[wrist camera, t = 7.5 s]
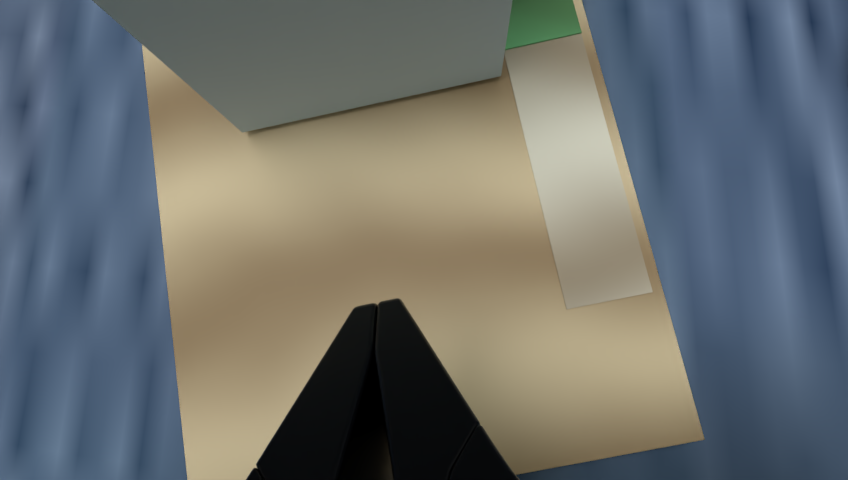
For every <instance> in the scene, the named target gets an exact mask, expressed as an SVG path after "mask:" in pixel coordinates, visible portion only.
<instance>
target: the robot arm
mask: <svg viewBox="0 0 848 480" xmlns="http://www.w3.org/2000/svg"><path fill="white" fill-rule="evenodd" d="M256 466H257V468H258V469H257V468H253V469H252V471H251V472H250V474H249V476H248V477H247V479H246V480H520V479H519V478H518V477H517V476H516V474H515V473H514V472H513V471H512V469H511V468H510V466H509V465H508V464H507V462H506V461H505V459H504V458H503V456H502V455H501V453H500V452H499V451H498V449H497V448H496V446H495V445H494V443H493V442H492V440H491V439H490V437H489V436H488V434H487V433H486V431H485V429H484V428H483V426H481V425H480V422H479V420H478V419H477V417H476V416H475V414H474V413H473V411H472V410H471V408H470V406H469V405H468V403H467V402H466V400H465V399H464V397H463V395H462V394H461V392H460V391H459V389H458V388H457V386H456V384H455V383H454V381H453V380H452V378H451V377H450V375H449V374H448V372H447V370H446V369H445V367H444V366H443V364H442V363H441V361H440V359H439V358H438V356H437V355H436V353H435V352H434V350H433V348H432V347H431V345H430V344H429V342H428V341H427V339H426V338H425V336H424V334H423V333H422V331H421V330H420V328H419V327H418V325H417V323H416V322H415V320H414V319H413V317H412V316H411V314H410V312H409V311H408V309H407V308H406V306H405V305H404V303H403V302H402V300H401V299H399V298H395V299H390V300H385V301H381V302H379V303H378V305H377V304H376V303H370V304H365V305H360V306H356V307H355V308H353V310H352V311H351V313H350V314H349V316H348V318H347V319H346V321H345V322H344V324H343V326H342V327H341V329H340V330H339V332H338V334H337V335H336V337H335V338H334V340H333V342H332V343H331V345H330V346H329V348H328V350H327V351H326V353H325V354H324V356H323V358H322V359H321V361H320V362H319V364H318V366H317V367H316V369H315V370H314V372H313V374H312V375H311V377H310V378H309V380H308V382H307V383H306V385H305V386H304V388H303V390H302V391H301V393H300V394H299V396H298V398H297V399H296V401H295V402H294V404H293V406H292V407H291V409H290V410H289V412H288V414H287V415H286V417H285V418H284V420H283V422H282V423H281V425H280V426H279V428H278V430H277V431H276V433H275V434H274V436H273V438H272V439H271V441H270V442H269V444H268V446H267V447H266V449H265V450H264V452H263V454H262V455H261V457H260V458H259V460H258V462H257V463H256Z"/></svg>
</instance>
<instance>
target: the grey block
mask: <svg viewBox="0 0 848 480" xmlns="http://www.w3.org/2000/svg"><path fill="white" fill-rule="evenodd" d="M93 1H94V2H95V3H96V4H97V5H98V6H99V7H101V8H102V9H103V10H104V11H105V12H106V13H107V14H108V15H110V16H111V17H112V18H113V19H114V20H115V21H116V22H118V23H119V24H120V25H121V26H122V27H123V28H124V29H125V30H127V31H128V32H129V33H130V34H131V35H132V36H133V37H135V38H136V39H137V40H138V41H139V42H140V43H141V44H142V45H144V46H145V47H146V48H147V49H148V50H149V51H150V52H152V53H153V54H154V55H155V56H156V57H157V58H158V59H159V60H161V61H162V62H163V63H164V64H165V65H166V66H167V67H169V68H170V69H171V70H172V71H173V72H174V73H175V74H176V75H178V76H179V77H180V78H181V79H182V80H183V81H184V82H186V83H187V84H188V85H189V86H190V87H191V88H192V89H193V90H195V91H196V92H197V93H198V94H199V95H200V96H201V97H203V98H204V99H205V100H206V101H207V102H208V103H209V104H210V105H212V106H213V107H214V108H215V109H216V110H217V111H218V112H220V113H221V114H222V115H223V116H224V117H225V118H226V119H227V120H229V121H230V122H231V123H232V124H233V125H234V126H235V127H237V128H238V129H239V130H240V131H241V132H242V133H243V132H247V131H252V130H256V129H261V128H266V127H270V126H275V125H279V124H284V123H289V122H293V121H298V120H302V119H307V118H311V117H316V116H321V115H325V114H330V113H334V112H339V111H344V110H348V109H353V108H357V107H362V106H367V105H371V104H376V103H380V102H385V101H389V100H394V99H399V98H403V97H408V96H412V95H417V94H422V93H426V92H431V91H435V90H440V89H444V88H449V87H454V86H458V85H463V84H467V83H472V82H477V81H481V80H486V79H490V78H495V77H499V76H501V73H502V67H503V60H504V53H505V47H506V40H507V34H508V27H509V21H510V14H511V7H512V1H513V0H93Z"/></svg>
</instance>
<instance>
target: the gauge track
mask: <svg viewBox="0 0 848 480" xmlns="http://www.w3.org/2000/svg"><path fill="white" fill-rule="evenodd" d="M142 48H143V58H144V67H145V77H146V86H147V96H148V106H149V115H150V125H151V134H152V144H153V153H154V163H155V173H156V182H157V192H158V201H159V211H160V220H161V230H162V240H163V249H164V259H165V268H166V278H167V288H168V297H169V307H170V316H171V326H172V335H173V345H174V355H175V364H176V374H177V383H178V393H179V402H180V412H181V422H182V431H183V441H184V450H185V460H186V469H187V479H188V480H246V479H247V477H248V476H249V474H250V472H251V471H252V469H253V468H257V466H256V463H257V462H258V460H259V458H260V457H261V455H262V454H263V452H264V450H265V449H266V447H267V446H268V444H269V442H270V441H271V439H272V438H273V436H274V434H275V433H276V431H277V430H278V428H279V426H280V425H281V423H282V422H283V420H284V418H285V417H286V415H287V414H288V412H289V410H290V409H291V407H292V406H293V404H294V402H295V401H296V399H297V398H298V396H299V394H300V393H301V391H302V390H303V388H304V386H305V385H306V383H307V382H308V380H309V378H310V377H311V375H312V374H313V372H314V370H315V369H316V367H317V366H318V364H319V362H320V361H321V359H322V358H323V356H324V354H325V353H326V351H327V350H328V348H329V346H330V345H331V343H332V342H333V340H334V338H335V337H336V335H337V334H338V332H339V330H340V329H341V327H342V326H343V324H344V322H345V321H346V319H347V318H348V316H349V314H350V313H351V311H352V310H353V308H355V307H356V306H360V305H365V304H370V303H376V304H377V305H378V303H379V302H381V301H385V300H390V299H395V298H399V299H401V300H402V302H403V303H404V305H405V306H406V308H407V309H408V311H409V312H410V314H411V316H412V317H413V319H414V320H415V322H416V323H417V325H418V327H419V328H420V330H421V331H422V333H423V334H424V336H425V338H426V339H427V341H428V342H429V344H430V345H431V347H432V348H433V350H434V352H435V353H436V355H437V356H438V358H439V359H440V361H441V363H442V364H443V366H444V367H445V369H446V370H447V372H448V374H449V375H450V377H451V378H452V380H453V381H454V383H455V384H456V386H457V388H458V389H459V391H460V392H461V394H462V395H463V397H464V399H465V400H466V402H467V403H468V405H469V406H470V408H471V410H472V411H473V413H474V414H475V416H476V417H477V419H478V420H479V422H480V425H481V426H483V428H484V429H485V431H486V433H487V434H488V436H489V437H490V439H491V440H492V442H493V443H494V445H495V446H496V448H497V449H498V451H499V452H500V453H501V455H502V456H503V458H504V459H505V461H506V462H507V464H508V465H509V466H510V468H511V469H512V471H513V472H514V473H515V474H516V475H518V474H523V473H528V472H534V471H539V470H544V469H550V468H555V467H561V466H566V465H571V464H577V463H582V462H587V461H593V460H598V459H603V458H609V457H614V456H620V455H625V454H630V453H636V452H641V451H646V450H652V449H657V448H662V447H668V446H673V445H679V444H684V443H689V442H695V441H700V440H705V439H704V435H703V432H702V428H701V425H700V421H699V418H698V414H697V410H696V407H695V403H694V400H693V396H692V393H691V389H690V385H689V382H688V378H687V375H686V371H685V368H684V364H683V360H682V357H681V353H680V350H679V346H678V343H677V339H676V335H675V332H674V328H673V325H672V321H671V318H670V314H669V310H668V307H667V303H666V300H665V296H664V293H663V289H662V285H661V282H660V278H659V275H658V271H657V268H656V264H655V260H654V257H653V253H652V250H651V246H650V243H649V239H648V236H647V232H646V228H645V225H644V221H643V218H642V214H641V211H640V207H639V203H638V200H637V196H636V193H635V189H634V186H633V182H632V178H631V175H630V171H629V168H628V164H627V161H626V157H625V153H624V150H623V146H622V143H621V139H620V136H619V132H618V128H617V125H616V121H615V118H614V114H613V111H612V107H611V103H610V100H609V96H608V93H607V89H606V86H605V82H604V78H603V75H602V71H601V68H600V64H599V61H598V57H597V53H596V50H595V46H594V43H593V39H592V36H591V32H590V28H589V25H588V21H587V18H586V14H585V11H584V7H583V3H582V0H513V1H512V7H511V14H510V21H509V27H508V34H507V40H506V47H505V53H504V60H503V67H502V73H501V76H499V77H495V78H490V79H486V80H481V81H477V82H472V83H467V84H463V85H458V86H454V87H449V88H444V89H440V90H435V91H431V92H426V93H422V94H417V95H412V96H408V97H403V98H399V99H394V100H389V101H385V102H380V103H376V104H371V105H367V106H362V107H357V108H353V109H348V110H344V111H339V112H334V113H330V114H325V115H321V116H316V117H311V118H307V119H302V120H298V121H293V122H289V123H284V124H279V125H275V126H270V127H266V128H261V129H256V130H252V131H247V132H243V133H242V132H241V131H240V130H239V129H238V128H237V127H235V126H234V125H233V124H232V123H231V122H230V121H229V120H227V119H226V118H225V117H224V116H223V115H222V114H221V113H220V112H218V111H217V110H216V109H215V108H214V107H213V106H212V105H210V104H209V103H208V102H207V101H206V100H205V99H204V98H203V97H201V96H200V95H199V94H198V93H197V92H196V91H195V90H193V89H192V88H191V87H190V86H189V85H188V84H187V83H186V82H184V81H183V80H182V79H181V78H180V77H179V76H178V75H176V74H175V73H174V72H173V71H172V70H171V69H170V68H169V67H167V66H166V65H165V64H164V63H163V62H162V61H161V60H159V59H158V58H157V57H156V56H155V55H154V54H153V53H152V52H150V51H149V50H148V49H147V48H146V47H145V46H144V45H142ZM257 469H258V468H257Z"/></svg>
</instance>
